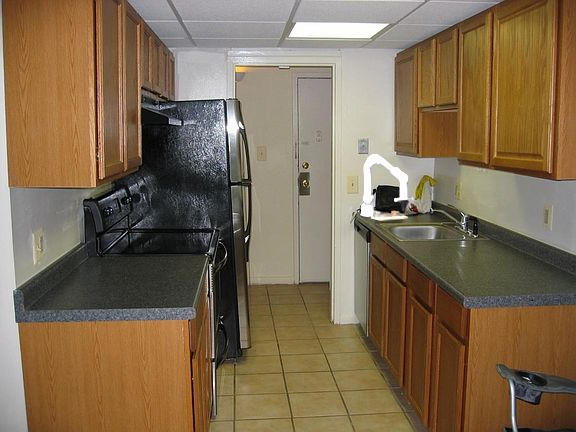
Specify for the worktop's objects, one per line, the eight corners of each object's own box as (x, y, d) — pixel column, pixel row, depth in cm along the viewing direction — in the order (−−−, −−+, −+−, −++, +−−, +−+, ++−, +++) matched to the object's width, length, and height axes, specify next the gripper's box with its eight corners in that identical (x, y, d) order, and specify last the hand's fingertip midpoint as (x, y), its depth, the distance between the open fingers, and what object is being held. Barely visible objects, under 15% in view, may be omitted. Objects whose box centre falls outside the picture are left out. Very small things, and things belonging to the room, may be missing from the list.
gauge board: (370, 218, 439) (370, 211, 439) (397, 215, 448) (397, 208, 447) (380, 220, 428) (380, 213, 427) (408, 218, 436) (408, 211, 435)
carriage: (391, 215, 443) (391, 211, 443) (395, 215, 445) (395, 210, 444) (399, 217, 434) (399, 213, 434) (403, 216, 435) (403, 212, 435)
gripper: (398, 193, 435) (398, 212, 437) (416, 191, 441) (415, 210, 443) (392, 192, 442) (392, 211, 444) (410, 190, 447) (410, 209, 449)
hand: (403, 211), depth 444 cm, fingers closed
